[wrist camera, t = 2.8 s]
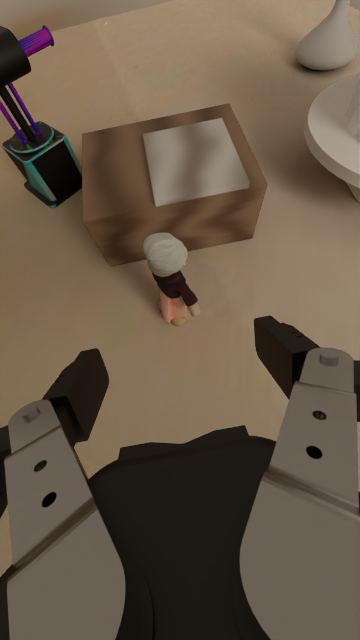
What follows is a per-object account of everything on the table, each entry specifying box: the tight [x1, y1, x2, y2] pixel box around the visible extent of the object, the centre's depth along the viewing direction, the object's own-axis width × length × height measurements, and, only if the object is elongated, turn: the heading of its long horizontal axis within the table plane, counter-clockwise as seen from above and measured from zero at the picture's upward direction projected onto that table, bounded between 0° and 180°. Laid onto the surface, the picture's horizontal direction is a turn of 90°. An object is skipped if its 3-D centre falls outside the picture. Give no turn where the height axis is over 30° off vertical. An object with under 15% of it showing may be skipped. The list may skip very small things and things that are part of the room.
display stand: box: [82, 104, 268, 266], centre depth 31 cm, size 20×16×9 cm
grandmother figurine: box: [143, 233, 200, 327], centre depth 22 cm, size 8×4×13 cm, turn 49°
